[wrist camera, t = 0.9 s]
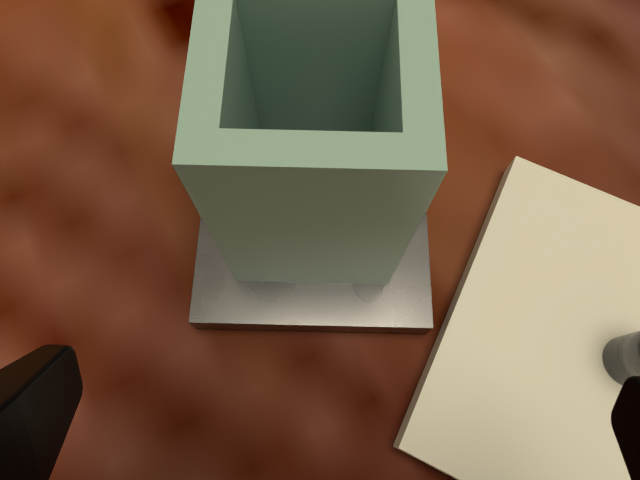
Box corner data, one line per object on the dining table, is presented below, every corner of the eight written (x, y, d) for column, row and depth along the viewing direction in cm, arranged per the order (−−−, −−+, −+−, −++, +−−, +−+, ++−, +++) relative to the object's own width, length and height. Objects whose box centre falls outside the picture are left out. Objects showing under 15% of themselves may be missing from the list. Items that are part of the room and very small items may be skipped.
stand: (425, 334, 22) (456, 309, 17) (196, 329, 22) (164, 302, 17) (415, 136, 25) (437, 70, 20) (218, 131, 25) (195, 65, 20)
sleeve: (387, 284, 21) (447, 170, 11) (236, 280, 21) (171, 164, 11) (384, 151, 23) (431, -35, 14) (247, 148, 23) (200, -40, 14)
